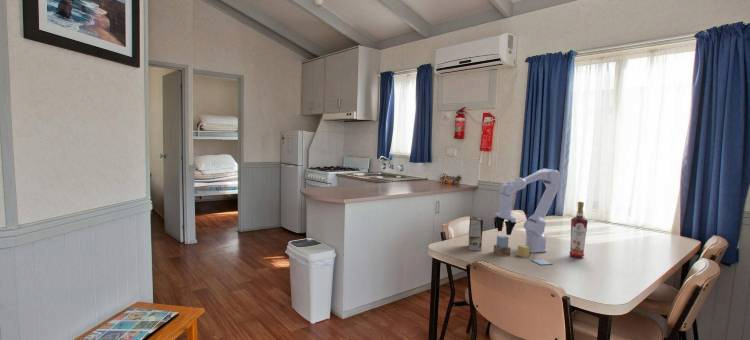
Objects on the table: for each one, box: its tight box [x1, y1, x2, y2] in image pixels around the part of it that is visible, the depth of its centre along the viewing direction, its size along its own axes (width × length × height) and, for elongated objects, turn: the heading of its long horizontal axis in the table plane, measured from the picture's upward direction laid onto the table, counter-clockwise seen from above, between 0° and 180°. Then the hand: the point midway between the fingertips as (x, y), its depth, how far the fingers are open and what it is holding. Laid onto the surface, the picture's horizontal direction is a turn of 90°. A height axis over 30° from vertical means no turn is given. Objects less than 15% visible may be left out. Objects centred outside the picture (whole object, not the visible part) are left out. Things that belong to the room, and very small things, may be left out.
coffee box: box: [468, 216, 484, 252], centre depth 197 cm, size 9×6×16 cm
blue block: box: [496, 235, 509, 248], centre depth 189 cm, size 4×4×5 cm
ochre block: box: [516, 244, 530, 258], centre depth 187 cm, size 4×4×5 cm
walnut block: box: [493, 244, 512, 256], centre depth 189 cm, size 6×6×4 cm
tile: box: [530, 258, 554, 266], centre depth 177 cm, size 7×7×1 cm
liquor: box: [568, 201, 589, 259], centre depth 187 cm, size 7×7×28 cm
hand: (504, 232), depth 193 cm, fingers open, 7 cm apart
